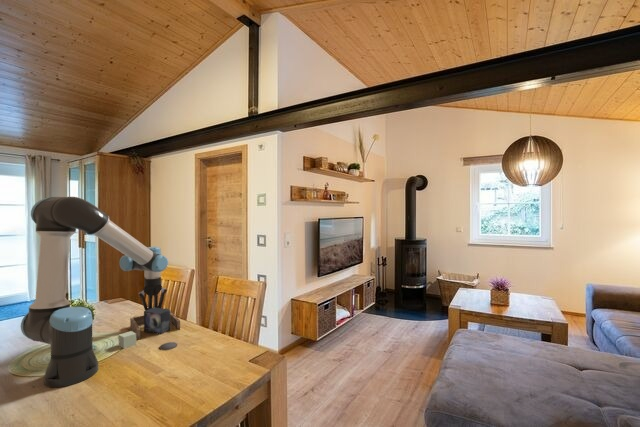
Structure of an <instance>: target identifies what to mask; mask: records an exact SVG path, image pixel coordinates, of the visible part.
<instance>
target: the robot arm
mask: <svg viewBox="0 0 640 427" xmlns="http://www.w3.org/2000/svg"><path fill="white" fill-rule="evenodd" d="M30 217H31V220H32V221H33V222H34V223H35V224H36V225H35V232H36V233H37V234H38V235H39V236H40V241H39V242H40V245H39V256H38V266H37V267H38V268H37V275H36V276H37V279H36V289H35V301H34V302H33V303H31V304H30V305H29V307H28V312H27V313H26V314H25V315H24V316H23V318H22V320H21V322H20V330H21V334H22V335H23V336H25V337H26V338H27V339H29V340H31V341H34V342H40V343H43V344H44V343H45V344H48V345H50V359H49V362H48V365H47V367H46V370H45V373H44V377H43V384H44V386H46V387H47V388H60V387H68V386H72V385H75V384H77V383H80V382H82V381H85V380H87V379H89V378H91V377H92V376H94V375H96V374H97V373H98V370H99V361H98V359H97V356H96V354H95V352H94V349H93V322H94V320H93V313H92V311H91V310H90V309H89V308H87V307H84V306H71V302H70V301H69V300H68V299H67V298H66V295H67V282H68V273H69V272H68V270H69V262H70V261H69V259H70V249H71V237H72V236H73V235H74V234H76V232H77V230H79V231H82V232H83V233H86V234H87V235H89V236H92V235H93V236H95V237H97V238H99V239H100V240H101V241H103V242H104V243H106V244H108V245H109V246H111V247H112V248H114V249H115V250H117V251H118V252H120V253H121V254H123V255H122V256H121V257H120V259H119V267H120V269H121V270H122V271H124V272H129V271H130V272H131V271H134V270H135V271H144V272H143V273H144V275H143V276H144V281H143V282H144V286H143V290H142V291H140V292H138V295H139V296H140V298H141V301H142V305H143V309H144V311H146V310H148V309H151V308H153V307H156V308H162V307H163V303H164V300H165V299H164V298H165V295H166V293H167V291H168V289H166V288H164V287H163V286H162V272H164V271H165V270H166V269H167V268H168V265H169V260H168V258H167V257H166V256H165V255H162V250H161V248H160V246H149V247H147V246H146V245H144V244H143V243H142V242H141V241H139V240H138V239H136V238H135V237H133V236H132V235H131V234H130V233H128V232H126V231H125V230H124V229H122V228H121V227H120V226H119V225H117V224H116V223H114V222H113V220H110V216H109V215H108V214H107V213H105V212H104V211H103V210H101V209H100V208H99V207H97V206H96V205H94V204H93V203H91V202H89V201H88V200H86V199H83V198H80V197H77V196H51V197H50V196H49V197H46V198H43V199H40V200H38V201H37V202H35V204H33V206H32V207H31V210H30ZM160 292H161V293H160ZM159 293H160V297H159ZM145 294H146V295H147V296H148V298H147V299H148V304H147V301H146V298H145ZM158 297H159V298H158ZM158 299H159V300H158Z"/></svg>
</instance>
